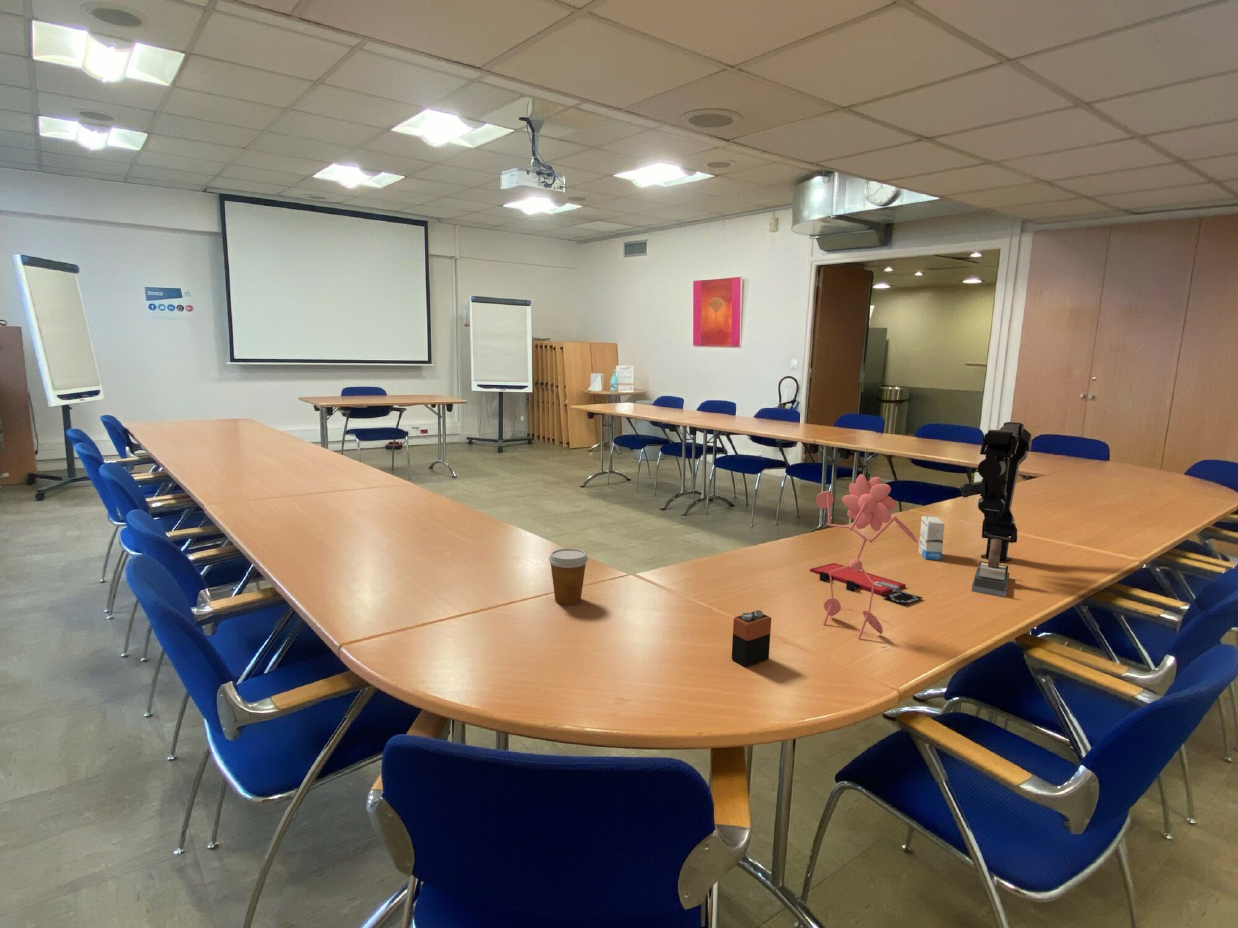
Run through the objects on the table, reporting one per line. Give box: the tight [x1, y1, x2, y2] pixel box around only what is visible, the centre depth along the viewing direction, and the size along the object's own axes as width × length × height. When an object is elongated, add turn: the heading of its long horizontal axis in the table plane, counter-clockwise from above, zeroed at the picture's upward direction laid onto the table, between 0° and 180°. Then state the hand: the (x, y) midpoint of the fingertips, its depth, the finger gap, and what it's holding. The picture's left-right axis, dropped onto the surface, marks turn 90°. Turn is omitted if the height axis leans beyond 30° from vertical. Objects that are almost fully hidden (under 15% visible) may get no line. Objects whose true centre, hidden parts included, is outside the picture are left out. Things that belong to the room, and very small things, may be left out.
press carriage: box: [979, 539, 1006, 580], centre depth 180 cm, size 5×6×10 cm
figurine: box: [815, 473, 918, 649], centre depth 147 cm, size 15×26×35 cm, turn 36°
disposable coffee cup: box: [548, 547, 589, 606], centre depth 160 cm, size 10×10×12 cm
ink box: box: [918, 515, 945, 561], centre depth 202 cm, size 9×5×12 cm, turn 168°
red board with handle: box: [809, 562, 924, 605], centre depth 176 cm, size 30×3×15 cm
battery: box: [731, 609, 772, 668], centre depth 131 cm, size 4×7×10 cm, turn 125°
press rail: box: [971, 561, 1010, 598], centre depth 178 cm, size 18×8×4 cm, turn 148°
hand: (989, 528), depth 187 cm, fingers open, 9 cm apart
